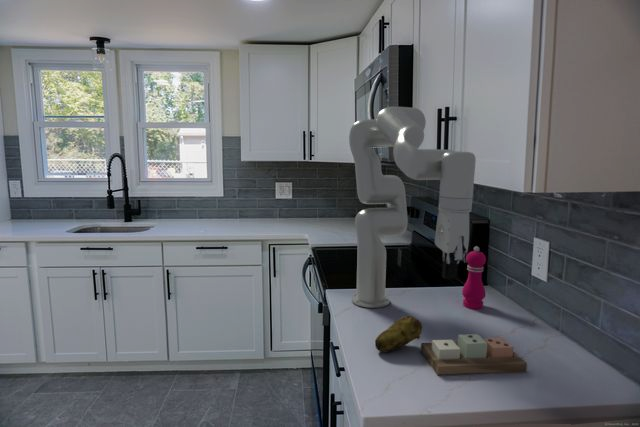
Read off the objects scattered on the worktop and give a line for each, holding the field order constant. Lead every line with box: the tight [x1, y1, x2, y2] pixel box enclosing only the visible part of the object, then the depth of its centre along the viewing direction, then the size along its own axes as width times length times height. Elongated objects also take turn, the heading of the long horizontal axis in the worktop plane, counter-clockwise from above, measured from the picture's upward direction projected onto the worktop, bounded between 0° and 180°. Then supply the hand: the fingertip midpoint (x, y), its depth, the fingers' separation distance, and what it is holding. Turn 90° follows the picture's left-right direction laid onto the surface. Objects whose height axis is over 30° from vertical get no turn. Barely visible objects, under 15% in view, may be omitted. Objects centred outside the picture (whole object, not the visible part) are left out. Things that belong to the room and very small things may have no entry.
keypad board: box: [420, 341, 528, 377], centre depth 103 cm, size 12×21×2 cm, turn 95°
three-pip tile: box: [482, 337, 514, 358], centre depth 103 cm, size 5×5×4 cm
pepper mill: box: [461, 246, 487, 310], centre depth 138 cm, size 7×7×20 cm
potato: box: [374, 315, 423, 353], centre depth 109 cm, size 8×13×8 cm, turn 98°
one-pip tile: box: [431, 339, 460, 360], centre depth 102 cm, size 5×5×4 cm
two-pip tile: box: [457, 333, 487, 359], centre depth 102 cm, size 5×5×4 cm
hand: (449, 278), depth 104 cm, fingers closed
